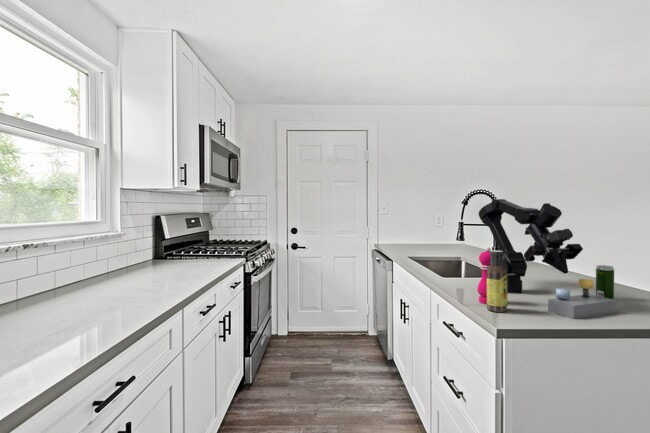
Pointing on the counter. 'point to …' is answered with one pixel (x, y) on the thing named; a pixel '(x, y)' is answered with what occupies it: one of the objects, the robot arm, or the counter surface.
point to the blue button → (563, 293)
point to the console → (582, 306)
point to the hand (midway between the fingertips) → (566, 272)
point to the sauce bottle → (496, 283)
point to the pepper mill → (484, 275)
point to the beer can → (605, 281)
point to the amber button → (586, 286)
